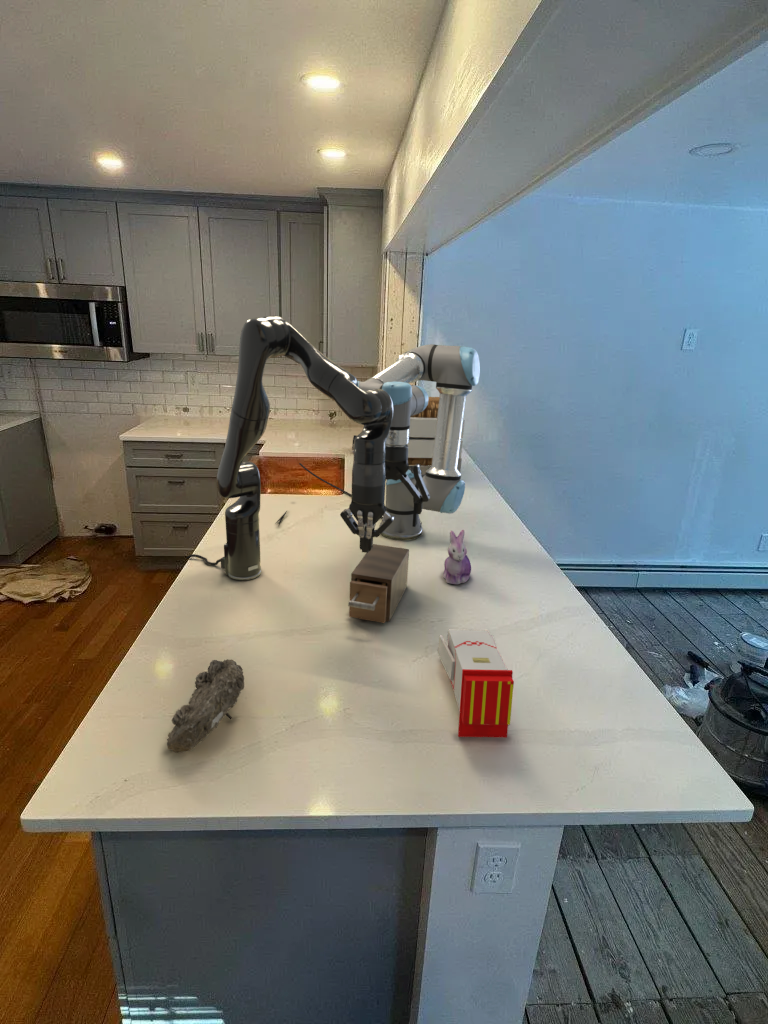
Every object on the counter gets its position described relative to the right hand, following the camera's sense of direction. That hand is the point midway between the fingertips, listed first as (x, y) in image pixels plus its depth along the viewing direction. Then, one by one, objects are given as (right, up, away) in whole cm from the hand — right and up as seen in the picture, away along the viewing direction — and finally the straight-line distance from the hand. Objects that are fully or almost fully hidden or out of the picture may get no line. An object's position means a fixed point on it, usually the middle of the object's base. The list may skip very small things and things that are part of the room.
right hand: (390, 521), depth 152 cm
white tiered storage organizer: (+16, +21, +123) cm, 126 cm away
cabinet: (-3, -21, +2) cm, 22 cm away
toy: (+16, -35, -34) cm, 51 cm away
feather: (-39, +2, +61) cm, 72 cm away
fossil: (-34, -36, -44) cm, 67 cm away
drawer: (-4, -22, -4) cm, 23 cm away
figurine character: (-16, +36, +159) cm, 164 cm away
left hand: (-6, -7, -19) cm, 21 cm away
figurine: (+20, -17, +16) cm, 31 cm away
